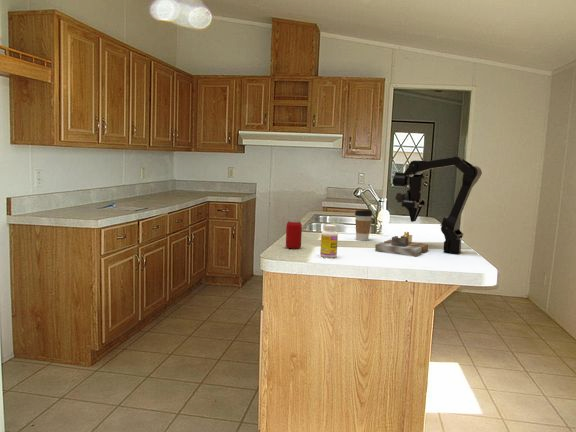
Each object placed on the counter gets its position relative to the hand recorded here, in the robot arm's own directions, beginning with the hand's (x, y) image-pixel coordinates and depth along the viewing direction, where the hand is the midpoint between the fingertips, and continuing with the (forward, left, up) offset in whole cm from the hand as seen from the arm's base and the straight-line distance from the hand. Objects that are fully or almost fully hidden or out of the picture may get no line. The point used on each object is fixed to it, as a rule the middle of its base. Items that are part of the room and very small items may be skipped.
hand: (413, 221), depth 228 cm
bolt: (0, +8, -9) cm, 12 cm away
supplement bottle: (+19, +48, -12) cm, 53 cm away
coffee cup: (+26, -2, -12) cm, 29 cm away
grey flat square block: (0, +14, -12) cm, 18 cm away
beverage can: (+40, +41, -12) cm, 58 cm away
